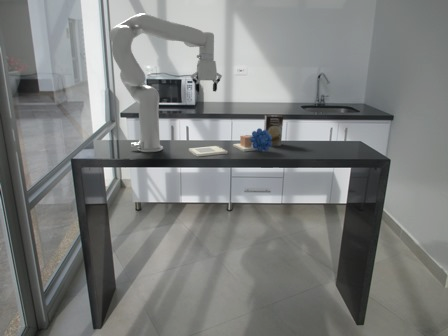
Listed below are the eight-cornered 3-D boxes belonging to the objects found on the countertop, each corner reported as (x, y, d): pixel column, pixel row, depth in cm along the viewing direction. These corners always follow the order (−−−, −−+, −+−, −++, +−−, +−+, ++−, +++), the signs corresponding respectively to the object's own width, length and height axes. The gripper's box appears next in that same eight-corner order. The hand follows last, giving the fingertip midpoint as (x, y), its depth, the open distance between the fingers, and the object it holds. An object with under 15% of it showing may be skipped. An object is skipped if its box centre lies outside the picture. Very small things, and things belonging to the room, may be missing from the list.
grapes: (252, 154, 175) (253, 130, 171) (248, 150, 181) (249, 127, 177) (274, 153, 177) (276, 129, 173) (270, 150, 183) (271, 127, 180)
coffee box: (264, 145, 192) (266, 116, 187) (262, 143, 198) (264, 114, 193) (281, 146, 192) (283, 116, 187) (279, 143, 198) (281, 114, 194)
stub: (243, 151, 179) (243, 139, 177) (232, 146, 189) (233, 134, 188) (257, 150, 182) (257, 138, 181) (246, 145, 193) (246, 133, 191)
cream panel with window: (197, 156, 169) (197, 154, 169) (188, 150, 179) (188, 148, 179) (227, 153, 175) (227, 150, 175) (217, 148, 186) (217, 145, 185)
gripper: (193, 57, 177) (193, 92, 182) (224, 58, 184) (223, 91, 189) (188, 57, 184) (188, 91, 189) (218, 58, 191) (218, 90, 196)
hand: (206, 91), depth 189 cm, fingers open, 9 cm apart
